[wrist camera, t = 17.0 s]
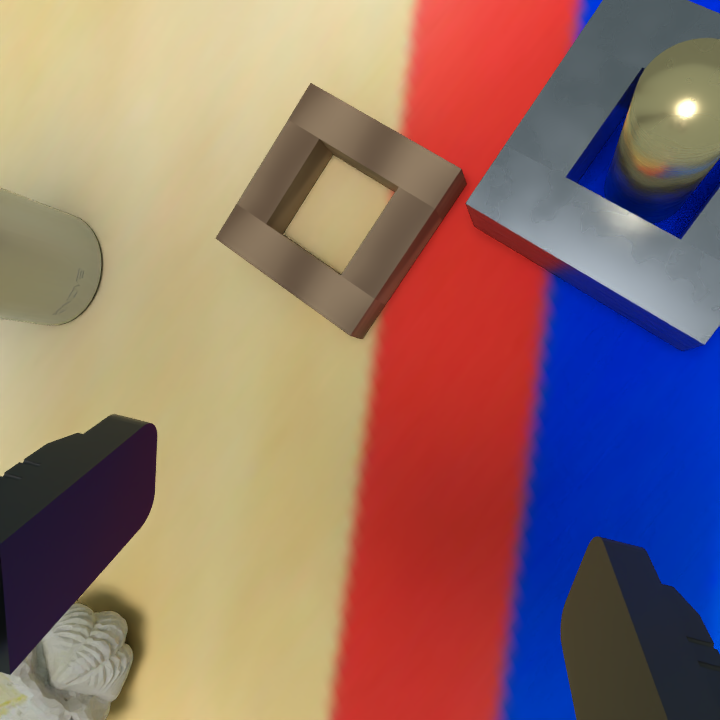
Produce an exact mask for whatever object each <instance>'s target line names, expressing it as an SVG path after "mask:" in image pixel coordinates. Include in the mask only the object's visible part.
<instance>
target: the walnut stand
mask: <svg viewBox="0 0 720 720" xmlns="http://www.w3.org/2000/svg"><path fill="white" fill-rule="evenodd" d="M332 155H335V156H337V157H338V158H340V159H342V160H343V161H345V162H346V163H348V164H350V165H351V166H353V167H355V168H356V169H358V170H360V171H361V172H363V173H364V174H366V175H368V176H369V177H371V178H373V179H374V180H376V181H378V182H379V183H381V184H382V185H384V186H386V187H387V188H389V189H391V190H392V191H394V192H395V193H394V195H393V196H392V198H391V199H390V201H389V202H388V204H387V206H386V207H385V209H384V210H383V212H382V213H381V215H380V216H379V218H378V219H377V221H376V222H375V224H374V225H373V227H372V228H371V230H370V232H369V233H368V235H367V236H366V238H365V239H364V241H363V242H362V244H361V245H360V247H359V248H358V250H357V251H356V253H355V254H354V256H353V257H352V259H351V261H350V262H349V264H348V265H347V267H346V268H345V270H344V271H343V273H342V274H340V273H338V272H337V271H335V270H334V269H332V268H331V267H330V266H328V265H327V264H325V263H324V262H322V261H321V260H319V259H318V258H316V257H315V256H314V255H312V254H311V253H309V252H308V251H306V250H305V249H303V248H302V247H300V246H299V245H298V244H296V243H295V242H293V241H292V240H290V239H289V238H287V237H286V236H284V235H283V233H284V231H285V230H286V228H287V227H288V225H289V223H290V222H291V220H292V219H293V217H294V215H295V214H296V212H297V211H298V209H299V208H300V206H301V204H302V203H303V201H304V200H305V198H306V196H307V195H308V193H309V192H310V190H311V189H312V187H313V185H314V184H315V182H316V181H317V179H318V177H319V176H320V174H321V173H322V171H323V169H324V168H325V166H326V165H327V163H328V162H329V160H330V158H331V157H332ZM466 184H467V183H466V181H465V178H464V175H463V172H462V169H461V168H459V167H457V166H455V165H454V164H452V163H450V162H448V161H447V160H445V159H443V158H441V157H440V156H438V155H436V154H434V153H432V152H431V151H429V150H427V149H425V148H424V147H422V146H420V145H418V144H417V143H415V142H413V141H411V140H410V139H408V138H406V137H404V136H403V135H401V134H399V133H397V132H396V131H394V130H392V129H390V128H389V127H387V126H385V125H383V124H382V123H380V122H378V121H376V120H375V119H373V118H371V117H369V116H368V115H366V114H364V113H362V112H361V111H359V110H357V109H355V108H354V107H352V106H350V105H348V104H347V103H345V102H343V101H341V100H340V99H338V98H336V97H334V96H333V95H331V94H329V93H327V92H326V91H324V90H322V89H320V88H319V87H317V86H315V85H313V84H312V83H310V85H309V87H308V88H307V90H306V92H305V93H304V95H303V96H302V98H301V100H300V101H299V103H298V105H297V106H296V108H295V110H294V111H293V113H292V114H291V116H290V118H289V119H288V121H287V123H286V124H285V126H284V127H283V129H282V131H281V132H280V134H279V136H278V137H277V139H276V141H275V142H274V144H273V145H272V147H271V149H270V150H269V152H268V154H267V155H266V157H265V159H264V160H263V162H262V163H261V165H260V167H259V168H258V170H257V172H256V173H255V175H254V177H253V178H252V180H251V181H250V183H249V185H248V186H247V188H246V190H245V191H244V193H243V194H242V196H241V198H240V199H239V201H238V203H237V204H236V206H235V208H234V209H233V211H232V212H231V214H230V216H229V217H228V219H227V221H226V222H225V224H224V226H223V227H222V229H221V230H220V232H219V234H218V235H217V237H216V239H217V240H219V241H220V242H221V243H223V244H224V245H225V246H227V247H228V248H230V249H231V250H232V251H234V252H235V253H237V254H238V255H239V256H241V257H242V258H243V259H245V260H246V261H248V262H249V263H250V264H252V265H253V266H254V267H256V268H257V269H259V270H260V271H261V272H263V273H264V274H266V275H267V276H268V277H270V278H271V279H272V280H274V281H275V282H277V283H278V284H279V285H281V286H282V287H283V288H285V289H286V290H288V291H289V292H290V293H292V294H293V295H295V296H296V297H297V298H299V299H300V300H301V301H303V302H304V303H306V304H307V305H308V306H310V307H311V308H312V309H314V310H315V311H317V312H318V313H319V314H321V315H322V316H324V317H325V318H326V319H328V320H329V321H330V322H332V323H333V324H335V325H336V326H337V327H339V328H340V329H341V330H343V331H344V332H346V333H347V334H348V335H350V336H353V337H356V338H359V339H363V337H364V336H365V334H366V333H367V331H368V330H369V328H370V327H371V326H372V324H373V323H374V321H375V320H376V318H377V317H378V315H379V314H380V312H381V311H382V309H383V308H384V306H385V305H386V303H387V302H388V300H389V299H390V297H391V296H392V294H393V293H394V291H395V290H396V288H397V287H398V285H399V284H400V282H401V281H402V279H403V278H404V276H405V275H406V273H407V272H408V271H409V269H410V268H411V266H412V265H413V263H414V262H415V260H416V259H417V257H418V256H419V254H420V253H421V251H422V250H423V248H424V247H425V245H426V244H427V242H428V241H429V239H430V238H431V236H432V235H433V233H434V232H435V230H436V229H437V227H438V226H439V224H440V223H441V221H442V220H443V218H444V217H445V216H446V214H447V213H448V211H449V210H450V208H451V207H452V205H453V204H454V202H455V201H456V199H457V198H458V196H459V195H460V193H461V192H462V190H463V189H464V187H465V186H466Z"/></svg>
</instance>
